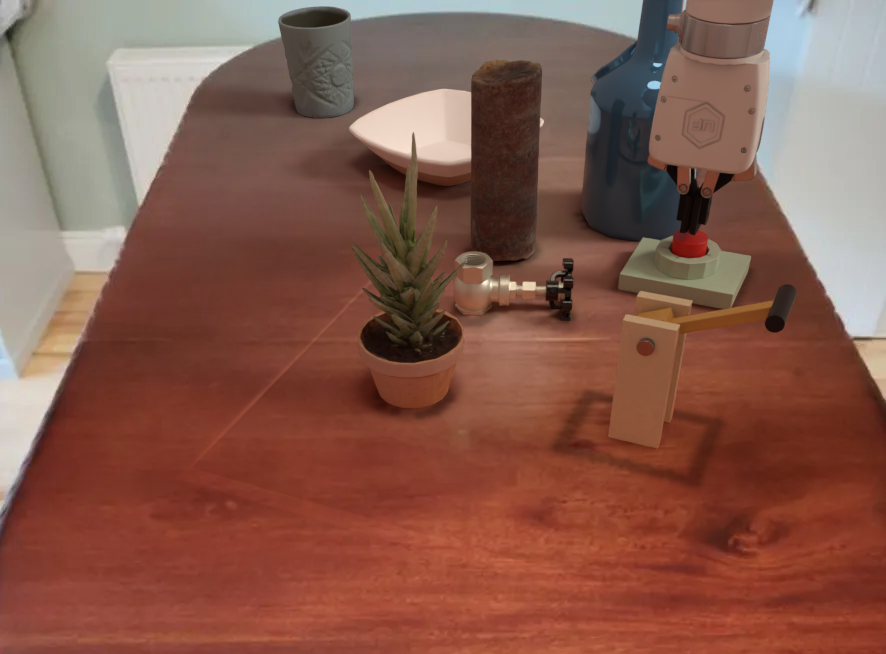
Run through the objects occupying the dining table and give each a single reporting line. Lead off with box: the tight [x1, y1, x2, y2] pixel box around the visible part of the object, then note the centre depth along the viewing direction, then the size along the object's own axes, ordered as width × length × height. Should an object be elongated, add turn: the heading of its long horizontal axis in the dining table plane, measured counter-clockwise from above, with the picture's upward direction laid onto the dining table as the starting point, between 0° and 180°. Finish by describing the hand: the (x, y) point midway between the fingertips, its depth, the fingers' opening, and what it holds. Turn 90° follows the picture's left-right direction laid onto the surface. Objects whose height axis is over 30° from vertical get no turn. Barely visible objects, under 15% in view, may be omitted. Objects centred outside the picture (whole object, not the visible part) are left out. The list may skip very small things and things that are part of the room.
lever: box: [638, 283, 798, 334], centre depth 78 cm, size 12×5×2 cm, turn 66°
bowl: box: [348, 88, 545, 187], centre depth 130 cm, size 22×22×5 cm
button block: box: [617, 235, 752, 310], centre depth 107 cm, size 12×9×4 cm
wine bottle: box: [580, 0, 702, 242], centre depth 108 cm, size 14×13×30 cm
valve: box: [452, 251, 575, 322], centre depth 101 cm, size 7×7×12 cm
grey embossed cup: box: [277, 5, 355, 119], centre depth 143 cm, size 10×10×12 cm
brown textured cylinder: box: [470, 59, 543, 262], centre depth 106 cm, size 8×7×20 cm
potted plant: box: [351, 132, 466, 409], centre depth 85 cm, size 10×10×25 cm
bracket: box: [608, 291, 693, 449], centre depth 84 cm, size 12×9×13 cm
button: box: [671, 229, 709, 258], centre depth 105 cm, size 4×4×2 cm
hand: (690, 228), depth 104 cm, fingers closed
